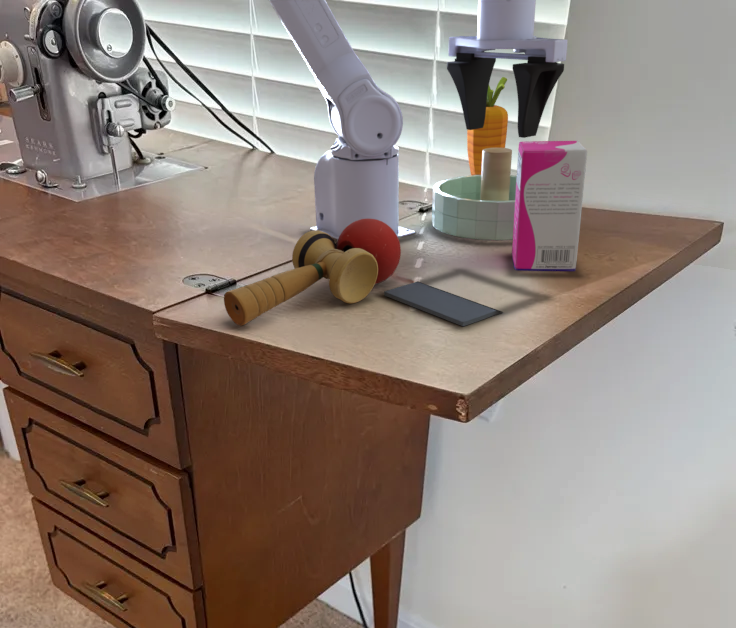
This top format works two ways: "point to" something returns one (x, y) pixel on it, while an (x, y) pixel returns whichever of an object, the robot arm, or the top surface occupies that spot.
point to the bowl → (472, 210)
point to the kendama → (324, 269)
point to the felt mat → (441, 303)
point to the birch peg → (496, 174)
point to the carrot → (488, 130)
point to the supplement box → (548, 205)
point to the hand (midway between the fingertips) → (500, 132)
